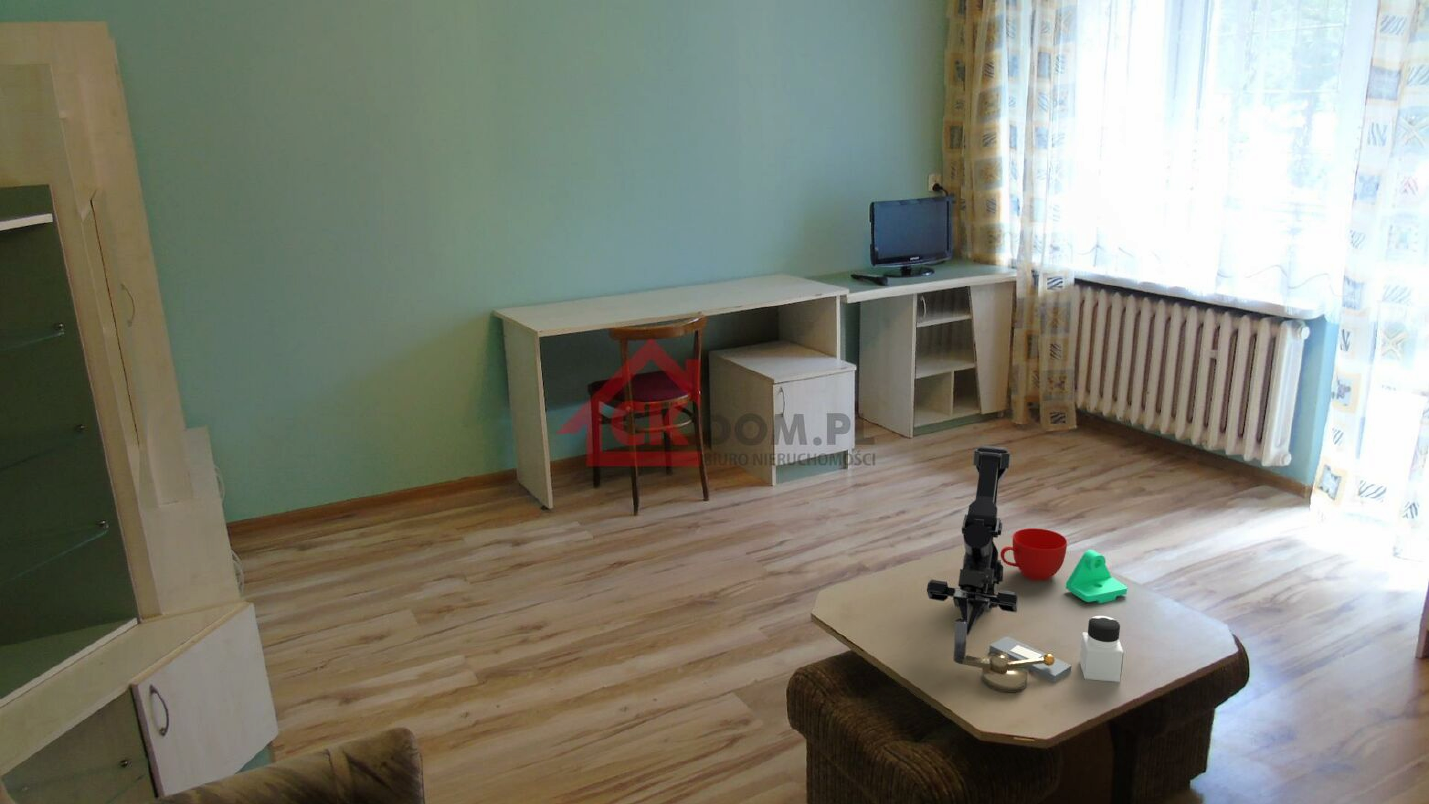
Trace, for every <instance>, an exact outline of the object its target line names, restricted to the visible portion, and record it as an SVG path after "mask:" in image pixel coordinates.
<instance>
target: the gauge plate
mask: <svg viewBox="0 0 1429 804" xmlns="http://www.w3.org/2000/svg"><path fill="white" fill-rule="evenodd" d="M995 651H1001V652H1004V653H1006V654H1008V656H1009V659H1011V660H1014V661H1021V660H1029V659H1037V658H1043V656H1044V655H1046V654H1047V653H1045V652H1042V651H1041V650H1039V649H1036V648H1034V647H1032V646H1030V645H1027V644H1025V643H1024V642H1022V641H1018V640H1017V639H1014V638H1013V637H1010V636H1008V635H1006V636H1004V637H1002V638H1000V639H999V640H997V641H995V642H993V643H992V644H990V645H989V652H991V653H992V652H995ZM1054 659H1055V662H1054V664H1053V665H1051V666H1047V665H1045V664H1044V663H1042V664H1034V665H1026V666H1025V668H1026V669H1027V671H1029V672H1032V673H1034V674H1036V675H1039V676H1041V677H1042V678H1045V679H1047V680H1049V681H1051V682H1052V683H1056V682H1058V681H1059V680H1060V679H1063V678H1064V677H1065V676H1067V675H1068V674H1070V673H1072V665H1071V664H1069V663H1067V662H1065V661H1062V660H1061V659H1058V658H1056V657H1054Z"/></svg>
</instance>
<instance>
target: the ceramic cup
mask: <svg viewBox="0 0 1429 804" xmlns="http://www.w3.org/2000/svg"><path fill="white" fill-rule="evenodd" d="M1067 547H1068V541H1067V539H1066V537H1065V536H1064V535H1062V534H1060V533H1058V532H1056V531H1053V530H1049V529H1046V528H1045V529H1044V528H1035V527H1033V528H1031V527H1030V528H1023V529H1019V530H1017V531H1015V532H1014V533H1013V534H1012V546H1004V547H1003V548H1002V549H1001V551H1000V554H999V555H1000V558H1001V559H1000V560H1001V561H1003V563H1005V564H1006V565H1008V566H1010V567H1016V568H1018V570H1019V571H1020V572H1021V573H1022V574H1023V576H1024V577H1025V578H1027V579H1028V580H1032V581H1037V582H1045V581H1048V580H1050V579H1051V578H1052V577H1054V576H1055V575H1056V574H1057V573H1058V572H1059V571H1060V569H1061V568H1062V566H1063V564H1064V561H1065V557H1066V554H1067V550H1068V549H1067ZM1007 551H1012V554H1013V560H1014V562H1010V561H1008V560H1007V559H1006V558H1005V554H1006V552H1007Z"/></svg>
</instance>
